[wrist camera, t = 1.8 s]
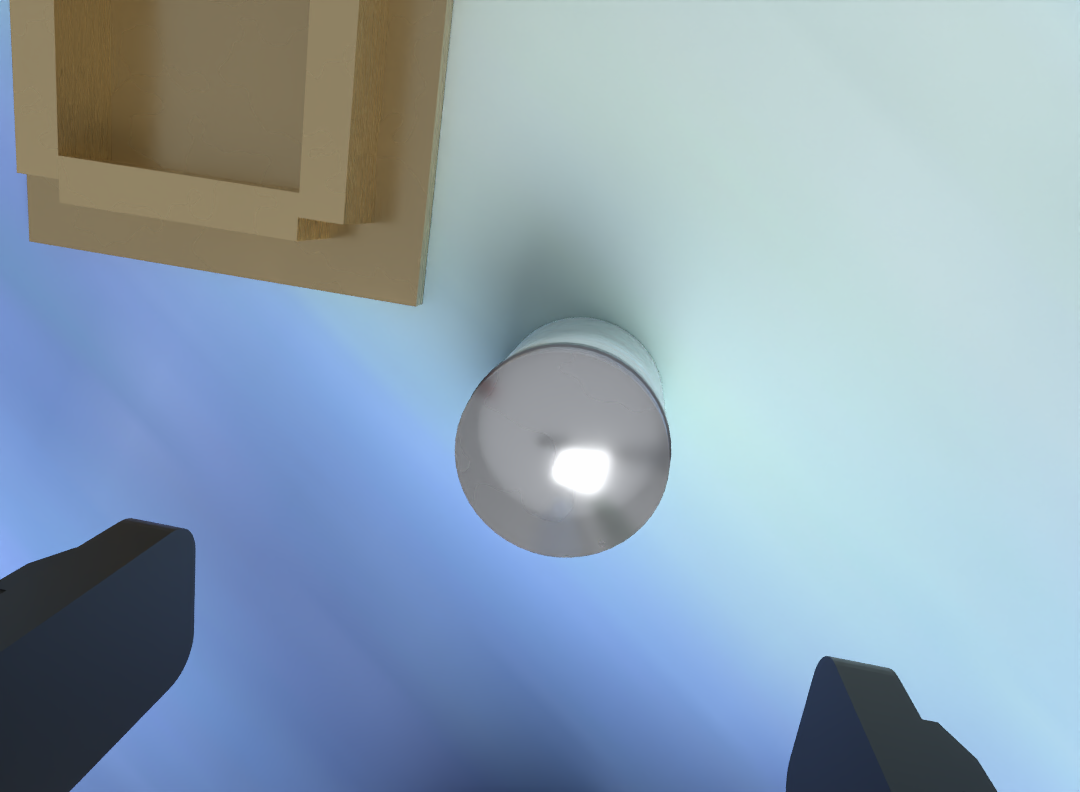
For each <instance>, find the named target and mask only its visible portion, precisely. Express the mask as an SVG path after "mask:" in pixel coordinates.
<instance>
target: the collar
mask: <svg viewBox="0 0 1080 792" xmlns="http://www.w3.org/2000/svg"><path fill="white" fill-rule="evenodd" d="M452 10H453V0H10V22H11V45H12V68H13V91H14V114H15V138H16V161H17V173H22V174H27V191H28V216H29V241H31V242H37V243H43V244H49V245H55V246H60V247H66V248H72V249H78V250H84V251H90V252H96V253H102V254H108V255H114V256H120V257H126V258H132V259H138V260H144V261H149V262H155V263H161V264H167V265H173V266H179V267H185V268H191V269H197V270H203V271H209V272H215V273H221V274H227V275H233V276H238V277H244V278H250V279H256V280H262V281H268V282H274V283H280V284H286V285H292V286H298V287H304V288H310V289H316V290H321V291H327V292H333V293H339V294H345V295H351V296H357V297H363V298H369V299H375V300H381V301H387V302H393V303H399V304H405V305H410V306H418V305H421V304H422V301H423V291H424V282H425V272H426V262H427V253H428V243H429V233H430V223H431V214H432V204H433V194H434V185H435V175H436V165H437V155H438V146H439V136H440V126H441V117H442V107H443V97H444V87H445V78H446V68H447V58H448V49H449V39H450V29H451V19H452Z"/></svg>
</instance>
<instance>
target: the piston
mask: <svg viewBox="0 0 1080 792" xmlns="http://www.w3.org/2000/svg"><path fill="white" fill-rule="evenodd" d="M455 460H456V468H457V473H458V477H459V480H460V483H461V486H462V489H463V491H464V493H465V495H466V497H467V499H468V501H469V503H470V504H471V506H472V507H473V509H474V510H475V512H476V513H477V515H478V516H479V517H480V518H481V519H482V520H483V521H484V523H485V524H486V525H487V526H489V527H490V528H491V529H492V530H493V531H494V532H495V533H497V534H498V535H499V536H501V537H502V538H504V539H505V540H507V541H508V542H510V543H512V544H514V545H516V546H518V547H520V548H523V549H525V550H528V551H530V552H533V553H537V554H541V555H545V556H552V557H581V556H587V555H592V554H596V553H600V552H602V551H605V550H608V549H610V548H612V547H614V546H616V545H618V544H620V543H622V542H624V541H625V540H626V539H628V538H629V537H631V536H632V535H634V534H635V533H636V532H637V531H638V530H639V529H640V528H641V527H642V526H643V525H644V524H645V523H646V522H647V521H648V519H649V518H650V517H651V516H652V514H653V513H654V511H655V509H656V508H657V506H658V505H659V503H660V500H661V498H662V496H663V493H664V491H665V487H666V484H667V480H668V475H669V467H670V460H671V438H670V431H669V425H668V421H667V418H666V413H665V404H664V395H663V387H662V381H661V378H660V374H659V371H658V369H657V366H656V364H655V362H654V360H653V359H652V357H651V355H650V354H649V352H648V351H647V350H646V348H645V347H644V346H643V345H642V344H641V343H640V342H639V341H638V340H637V339H636V338H635V337H634V336H633V335H631V334H630V333H628V332H627V331H626V330H624V329H622V328H620V327H618V326H616V325H614V324H612V323H609V322H606V321H603V320H599V319H595V318H586V317H572V318H566V319H560V320H557V321H554V322H550V323H548V324H546V325H544V326H542V327H540V328H538V329H537V330H535V331H533V332H532V333H531V334H529V335H528V336H527V337H526V338H525V339H524V340H523V341H522V342H521V343H520V344H519V345H518V346H517V347H516V348H515V349H514V350H513V351H512V352H511V353H510V354H509V356H508V357H507V358H506V359H505V360H504V361H502V362H501V363H500V364H499V365H497V366H496V367H495V368H494V369H493V370H492V371H491V372H490V373H489V374H488V375H487V376H486V377H485V378H484V379H483V380H482V381H481V382H480V384H479V385H478V387H477V388H476V390H475V391H474V393H473V394H472V396H471V398H470V400H469V401H468V403H467V405H466V407H465V409H464V411H463V413H462V416H461V419H460V422H459V425H458V429H457V434H456V440H455Z"/></svg>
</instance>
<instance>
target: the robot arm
mask: <svg viewBox="0 0 1080 792" xmlns="http://www.w3.org/2000/svg"><path fill="white" fill-rule="evenodd" d="M194 597H195V541H194V538H193V535H192V534H191V532H190V531H189V530H187V529H184V528H179V527H174V526H169V525H164V524H159V523H153V522H148V521H143V520H138V519H133V518H128V519H124V520H122V521H120V522H118V523H117V524H115V525H113V526H112V527H110V528H108V529H107V530H105V531H104V532H102V533H100V534H99V535H97V536H95V537H94V538H92V539H90V540H89V541H87V542H85V543H84V544H82V545H80V546H79V547H77V548H73V549H70V550H67V551H64V552H61V553H58V554H55V555H52V556H49V557H46V558H43V559H40V560H37V561H34V562H31V563H28V564H26V565H25V566H23V567H21V568H20V569H18V570H16V571H14V572H13V573H11V574H9V575H8V576H6V577H4V578H2V579H1V580H0V792H70V790H71V789H72V788H73V787H74V786H75V785H76V784H77V783H78V782H79V781H80V780H81V779H82V778H83V777H84V776H85V775H86V774H87V773H88V772H89V771H90V770H91V769H92V768H93V767H94V766H95V765H96V764H97V763H98V762H99V761H100V760H101V759H102V758H103V756H104V755H105V754H106V753H107V752H108V751H109V750H110V749H111V748H112V747H113V746H114V745H115V744H116V743H117V742H118V741H119V740H120V739H121V738H122V737H123V736H124V735H125V734H126V733H127V732H128V731H129V730H130V729H131V728H132V727H133V726H134V725H135V724H136V722H137V721H138V720H139V719H140V718H141V717H142V716H143V715H144V714H145V713H146V712H147V711H148V710H149V709H150V708H151V707H152V706H153V705H154V704H155V703H156V702H157V701H158V700H159V699H160V698H161V697H162V696H163V695H164V694H165V693H166V692H167V691H168V690H169V688H170V687H171V686H172V685H173V684H174V683H175V681H176V680H177V679H178V677H179V676H180V674H181V672H182V671H183V669H184V667H185V665H186V662H187V660H188V657H189V654H190V651H191V647H192V643H193V636H194ZM786 792H997V790H996V789H995V787H994V786H993V784H992V782H991V781H990V779H989V778H988V776H987V774H986V773H985V771H984V770H983V768H982V766H981V765H980V763H979V762H978V760H977V759H976V758H975V757H974V756H973V755H972V754H971V753H970V752H969V751H968V750H967V749H966V748H964V747H963V746H962V745H961V744H960V743H959V742H958V741H957V740H956V739H955V738H954V737H953V736H952V735H951V734H949V733H948V732H947V731H946V730H945V729H944V728H943V727H942V726H941V725H940V724H939V723H938V722H933V721H928V720H923V719H921V717H920V715H919V713H918V712H917V710H916V708H915V706H914V704H913V703H912V701H911V699H910V697H909V696H908V694H907V692H906V690H905V688H904V687H903V685H902V683H901V681H900V680H899V678H898V676H897V675H896V673H895V672H894V671H893V670H892V669H889V668H885V667H880V666H875V665H870V664H865V663H860V662H855V661H850V660H845V659H840V658H834V657H829V656H825V657H823V658H822V659H821V660H820V661H819V663H818V665H817V667H816V669H815V672H814V676H813V679H812V683H811V686H810V690H809V693H808V697H807V700H806V704H805V708H804V711H803V715H802V718H801V722H800V725H799V729H798V732H797V736H796V740H795V743H794V747H793V750H792V754H791V757H790V761H789V766H788V772H787V782H786Z"/></svg>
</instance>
